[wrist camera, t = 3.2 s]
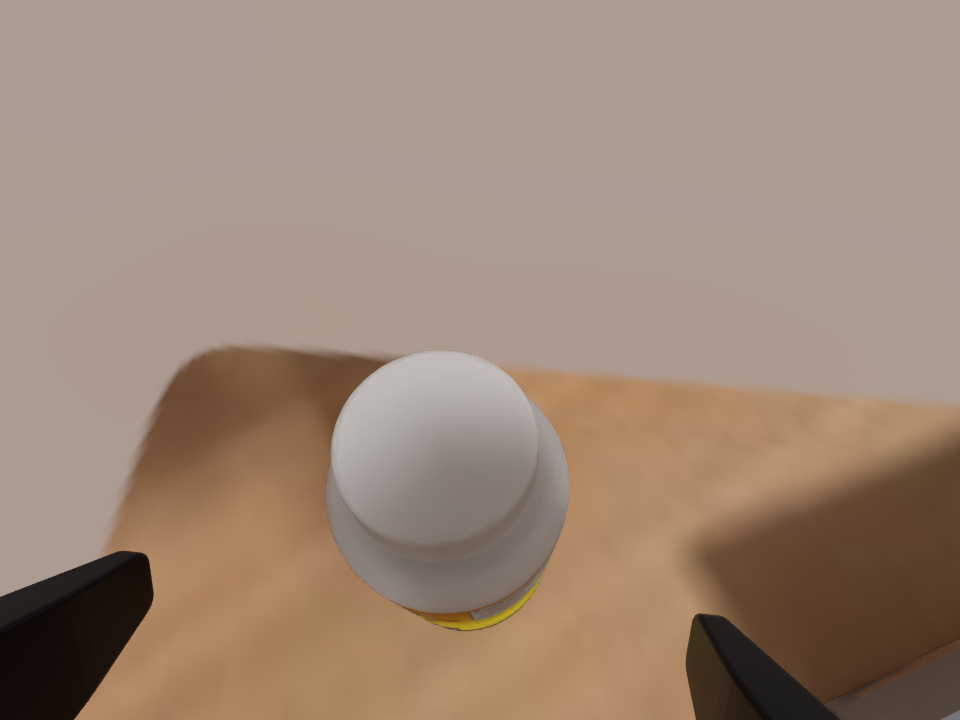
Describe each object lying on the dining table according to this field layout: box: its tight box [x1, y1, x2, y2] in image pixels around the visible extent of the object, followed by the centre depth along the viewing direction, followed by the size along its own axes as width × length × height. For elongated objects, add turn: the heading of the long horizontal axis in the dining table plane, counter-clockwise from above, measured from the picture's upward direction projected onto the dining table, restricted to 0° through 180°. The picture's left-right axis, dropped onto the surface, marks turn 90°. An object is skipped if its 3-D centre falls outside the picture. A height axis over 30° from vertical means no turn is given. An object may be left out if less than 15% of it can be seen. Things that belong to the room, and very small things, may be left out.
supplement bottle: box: [326, 350, 569, 631], centre depth 14 cm, size 6×6×10 cm
